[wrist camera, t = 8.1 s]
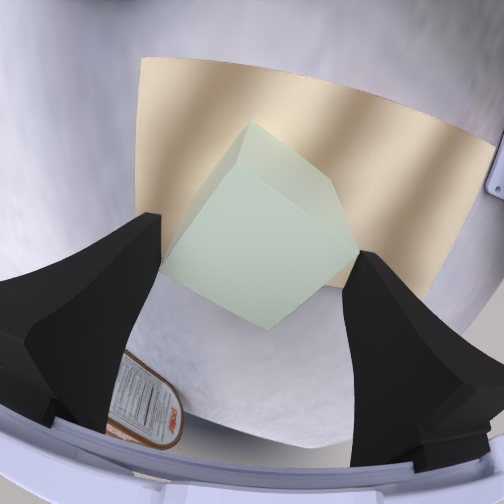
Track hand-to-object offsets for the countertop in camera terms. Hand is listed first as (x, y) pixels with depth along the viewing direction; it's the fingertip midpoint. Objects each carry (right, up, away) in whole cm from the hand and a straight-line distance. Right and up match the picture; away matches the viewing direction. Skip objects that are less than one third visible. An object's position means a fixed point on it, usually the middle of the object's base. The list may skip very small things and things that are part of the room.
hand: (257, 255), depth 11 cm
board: (+3, +4, +6) cm, 8 cm away
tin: (-12, -11, +18) cm, 24 cm away
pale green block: (0, +4, +5) cm, 6 cm away
